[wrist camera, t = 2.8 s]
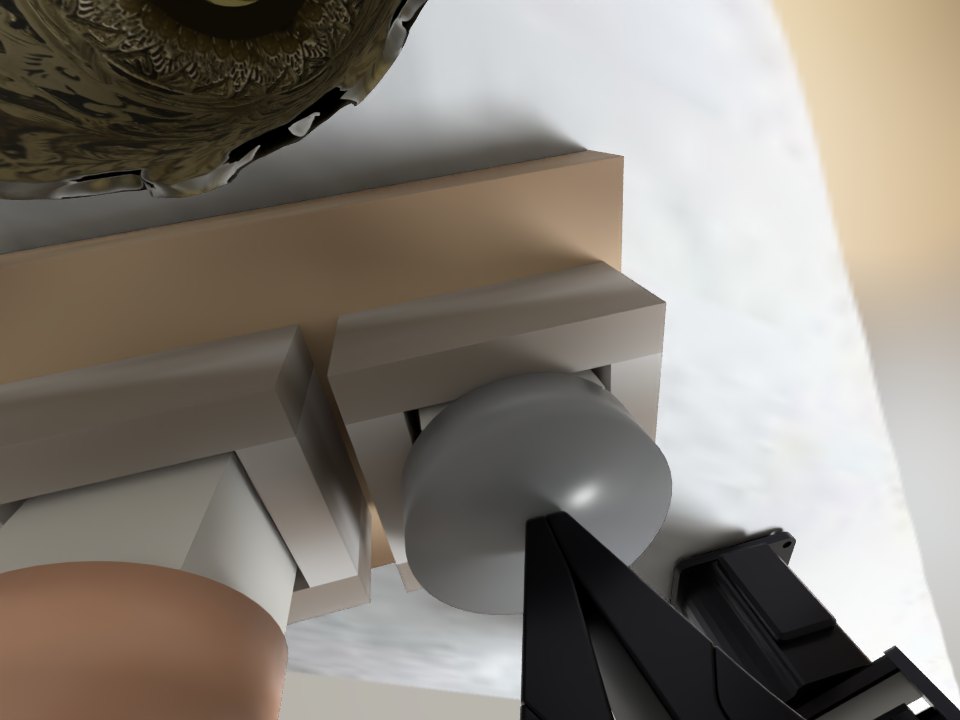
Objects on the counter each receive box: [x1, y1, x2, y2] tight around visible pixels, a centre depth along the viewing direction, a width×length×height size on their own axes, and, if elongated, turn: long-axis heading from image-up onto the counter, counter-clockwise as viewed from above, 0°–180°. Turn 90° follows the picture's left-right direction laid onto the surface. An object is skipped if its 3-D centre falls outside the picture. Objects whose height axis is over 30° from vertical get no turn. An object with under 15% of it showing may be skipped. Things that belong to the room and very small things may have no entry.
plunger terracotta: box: [0, 451, 297, 720], centre depth 8 cm, size 6×6×4 cm
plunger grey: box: [401, 369, 672, 615], centre depth 11 cm, size 6×6×4 cm
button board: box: [0, 150, 666, 625], centre depth 12 cm, size 12×16×5 cm
